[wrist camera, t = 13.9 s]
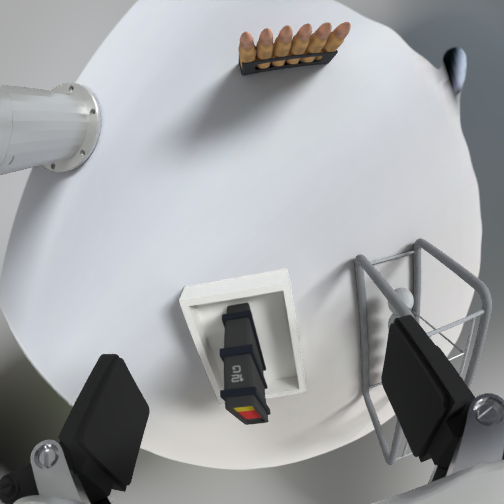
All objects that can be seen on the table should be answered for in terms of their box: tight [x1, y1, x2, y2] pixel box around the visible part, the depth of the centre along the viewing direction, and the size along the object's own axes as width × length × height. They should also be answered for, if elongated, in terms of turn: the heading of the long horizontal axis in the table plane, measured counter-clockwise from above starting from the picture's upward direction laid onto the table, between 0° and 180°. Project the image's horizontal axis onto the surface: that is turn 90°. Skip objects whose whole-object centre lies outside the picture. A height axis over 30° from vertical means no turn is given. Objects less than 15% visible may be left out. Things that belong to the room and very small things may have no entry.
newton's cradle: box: [355, 239, 492, 465], centre depth 34 cm, size 30×10×18 cm, turn 15°
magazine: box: [219, 303, 270, 425], centre depth 36 cm, size 4×13×15 cm, turn 11°
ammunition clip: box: [239, 22, 351, 75], centre depth 24 cm, size 11×2×12 cm, turn 102°
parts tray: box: [179, 268, 306, 404], centre depth 41 cm, size 14×20×4 cm
